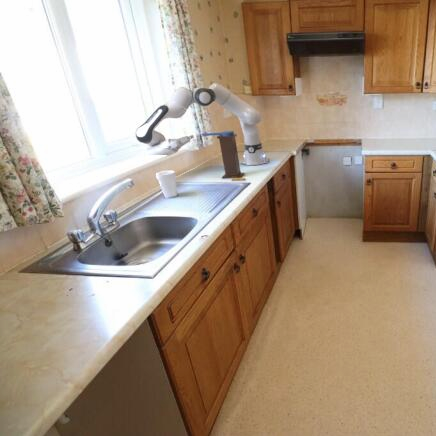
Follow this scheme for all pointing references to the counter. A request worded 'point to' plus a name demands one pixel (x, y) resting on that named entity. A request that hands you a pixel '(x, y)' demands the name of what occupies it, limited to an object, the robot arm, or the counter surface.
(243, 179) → the fry
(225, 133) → the spoon
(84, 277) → the counter surface
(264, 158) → the robot arm
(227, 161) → the spoon stand
